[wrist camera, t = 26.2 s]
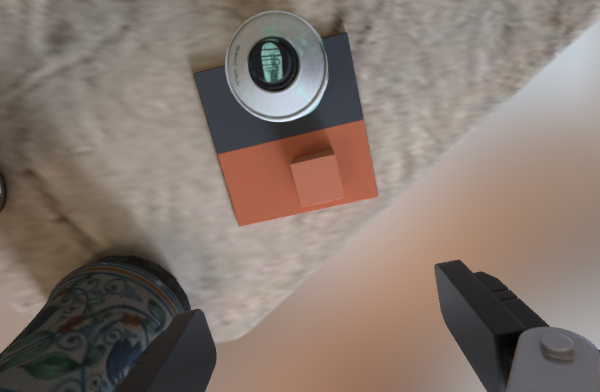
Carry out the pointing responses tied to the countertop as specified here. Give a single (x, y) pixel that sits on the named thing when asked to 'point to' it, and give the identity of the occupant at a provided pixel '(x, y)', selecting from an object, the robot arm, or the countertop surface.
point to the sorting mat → (288, 142)
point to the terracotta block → (317, 178)
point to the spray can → (277, 66)
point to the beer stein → (93, 328)
